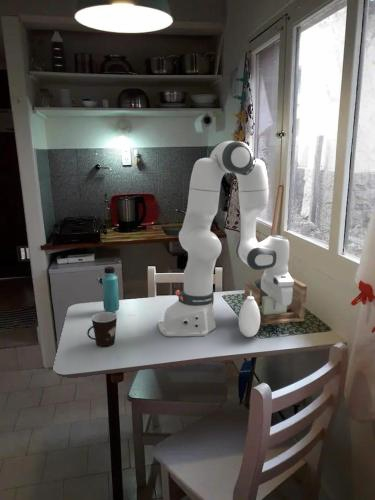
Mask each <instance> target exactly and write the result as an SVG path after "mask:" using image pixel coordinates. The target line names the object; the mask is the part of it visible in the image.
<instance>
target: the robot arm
mask: <svg viewBox="0 0 375 500" xmlns="http://www.w3.org/2000/svg"><path fill="white" fill-rule="evenodd" d="M191 171H192V172H191V175H190V180H189V189H188V190H189V191H188V196H187V197H188V198H187V207H186V213H185V216H184V220H183V222H182V227H181V229H180V230H179V232H178V241H179V243H180V246H181V247H182V249H183V250H184V251H186V252H187V263H186V266H185V269H184V271H183V290H182V291H180V290H179V289H177V290H176V291H175V292H174V293H175V295H176V297H178V300H177V301H175V302H174V303H172V304H171V305H170V306H168V307H167V308H166V309H165V312H164V315H163V318H161V319H159V321H158V323H157V327H158V330H159V333H161V334H162V335H163V336H165V337H205V336H207V335H209V333H210V332H211V331H213V330H215V328H216V327H217V326H216V325H217V324H216V321H215V317H214V309H213V307H214V301H215V297H214V295H215V294H214V289H213V283H214V272H215V271H214V270H215V266H216V262H217V259H218V258H219V257H220V255H221V253H222V248H223V247H222V242H221V241H220V239H219V238H218V236H217V235H216V234H215V233H214V232H212V231H211V227H212V223H213V221H214V218H215V216H216V215H217V214H218V212H219V211H218V210H219V202H220V192H221V182H222V179H223V177H224V175H225V174H226V173H227V174H234V175H235V177H236V179H237V183H238V184H237V185H238V186H237V187H238V189H237V190H238V201H239V202H238V203H239V239H238V242H237V245H236V249H235V253H236V256H237V258H238V259H239V260H240V261H241V262H242V263H244V264H245V265H247V266H248V267H249V268H251V269H253V270H254V271H261V270H264V271H263V274H262V276H261V278H260V279H261V289H262V290H263V291H264V292H265V293H267V294H268V296H271V297H272V298H273V299H274V300H275V302H276V303H275V305H274V309H275V310H279V306H280V304H281V305H282V306H287V307H288V305H290V304H291V302H292V293H293V289H292V285H294V280H293V279H292V278H293V277H292V275H291V274H290V273H289V260H290V241H289V240H288V238H286V237H285V236H284V235H283V236H282V235H279V234H269V236H268V237H266V238H265V239H264V240H262V241H259V242H258V240H257V237H256V234H257V233H256V231H257V230H256V229H257V228H256V227H257V222H256V221H257V217H258V215H259V214H260V213H261V212H263V211H264V210H265V209H266V208H267V206H268V203H269V198H270V197H269V196H270V195H269V192H270V191H269V190H270V189H269V178H268V177H269V176H268V171H267V168H266V164H265V162H264V161H263V160H261V159H259V158H256V157H255V155H254V153H253V151H252V149H251V147H250V146H249V145H248V144H247V143H245V142H244V141H240V140H236V141H235V140H225V141H222V142H219V143H217V144H216V145H215V146H214V147H212V149H211V151H210V153H208V155H207V157H203V158H199V159H198V160H197V159H196V161H195V163H194V165H193V168H192V170H191Z"/></svg>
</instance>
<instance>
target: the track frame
mask: <svg viewBox="0 0 375 500" xmlns="http://www.w3.org/2000/svg"><path fill="white" fill-rule="evenodd" d="M291 278H292V279H293V280H294V285H292V289H293V293H292V302H291V304H290V305H287V312H286V313H281V314H271V315H263V314H262V313H261V310H262V309H260V304H261V303H260V289H258V288H257V287H256V285H255V284H253V283H252V282H251V281H245V283H244V298H243V299H244V301H243V303H244V302H245V300H246V299H247V297H248V296H250V292H251V296H252V297H254V300H255V301H256V303H257V305H258V308H259V312H260V325H264V326H267V325H266V324H273V325H280V324H279V323H282V324H289V323H290V322H292V323H299V322H300V321H301V322H304V321H305V312H306V300H307V290H308V285H306V284H305V283H303V282H302V281H299V280H298V279H296V278H293V277H291Z"/></svg>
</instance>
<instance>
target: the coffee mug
mask: <svg viewBox="0 0 375 500" xmlns="http://www.w3.org/2000/svg"><path fill="white" fill-rule="evenodd" d="M117 321H118V315H117V313H115V312H106V311H103V312H98V313H95V314H93V315H92V317H91V322H92V326H90V327H89V328H88V329H87V332H86V334H87V337H88V338H89V339H90V340H94V341H95V344H96V347H99V348H101V349H102V348H105V349H106V348H109V347H112V346H114V345H115V342H116V333H117V331H116V330H117ZM92 329H93V333H94V337H92V336H91V335H90V331H92Z"/></svg>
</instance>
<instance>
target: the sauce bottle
mask: <svg viewBox="0 0 375 500" xmlns="http://www.w3.org/2000/svg"><path fill="white" fill-rule="evenodd" d="M259 311H260V307H259V308H258V305H257V303H256V301H255V300H254V297H252V296H251V292H250V296H248V297H247V299H246V300H245V302H244V301H243V304H242V305H241V307H240V310H239V314H238V326H239V330H240V332H241V334H242V335H243V336H245V337H246V338H251V337H253V336H256V335H257V333H258V332H259V330H260V327H261V326H260V312H259Z"/></svg>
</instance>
